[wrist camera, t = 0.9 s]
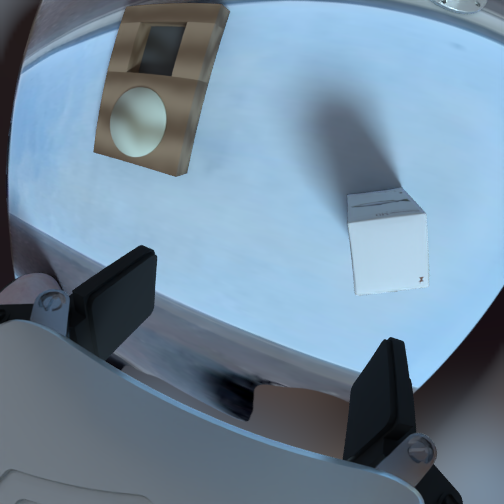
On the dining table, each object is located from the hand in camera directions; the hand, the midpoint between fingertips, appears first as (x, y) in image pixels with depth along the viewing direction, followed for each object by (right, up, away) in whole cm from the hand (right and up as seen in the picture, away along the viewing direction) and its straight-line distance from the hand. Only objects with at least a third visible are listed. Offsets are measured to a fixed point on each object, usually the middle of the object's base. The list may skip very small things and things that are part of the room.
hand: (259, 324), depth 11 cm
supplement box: (+15, +7, +24) cm, 30 cm away
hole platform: (-14, +27, +25) cm, 39 cm away
